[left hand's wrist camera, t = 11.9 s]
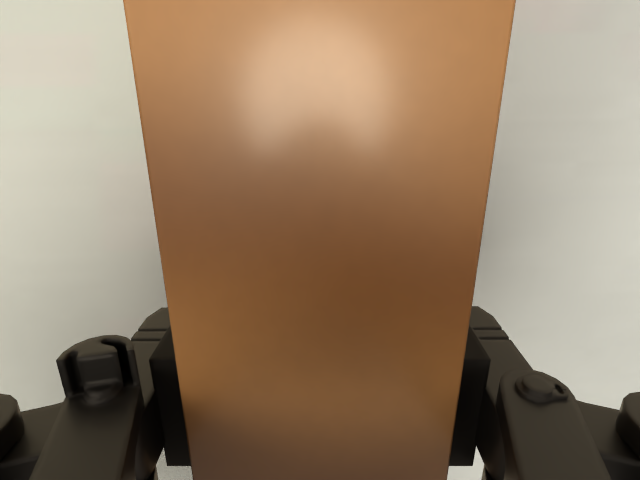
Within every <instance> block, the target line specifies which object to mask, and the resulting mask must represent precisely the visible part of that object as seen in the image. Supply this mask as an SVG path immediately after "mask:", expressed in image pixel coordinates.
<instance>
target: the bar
mask: <svg viewBox="0 0 640 480" xmlns="http://www.w3.org/2000/svg"><path fill="white" fill-rule="evenodd" d="M123 2H124V9H125V16H126V23H127V30H128V36H129V43H130V50H131V57H132V64H133V71H134V78H135V84H136V91H137V98H138V105H139V112H140V119H141V126H142V132H143V139H144V146H145V153H146V160H147V167H148V174H149V180H150V187H151V194H152V201H153V208H154V215H155V222H156V228H157V235H158V242H159V249H160V256H161V263H162V270H163V277H164V283H165V290H166V297H167V304H168V311H169V318H170V325H171V331H172V338H173V345H174V352H175V359H176V366H177V373H178V379H179V386H180V393H181V400H182V407H183V414H184V421H185V427H186V434H187V441H188V448H189V455H190V462H191V469H192V475H193V480H447V474H448V467H449V460H450V453H451V447H452V440H453V433H454V426H455V419H456V412H457V405H458V398H459V391H460V384H461V377H462V370H463V363H464V356H465V349H466V342H467V335H468V328H469V321H470V315H471V308H472V301H473V294H474V287H475V280H476V273H477V266H478V259H479V252H480V245H481V238H482V231H483V224H484V217H485V210H486V203H487V196H488V189H489V182H490V176H491V169H492V162H493V155H494V148H495V141H496V134H497V127H498V120H499V113H500V106H501V99H502V92H503V85H504V78H505V71H506V64H507V57H508V50H509V44H510V37H511V30H512V23H513V16H514V9H515V2H516V0H123Z"/></svg>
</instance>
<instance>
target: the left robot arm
mask: <svg viewBox="0 0 640 480" xmlns="http://www.w3.org/2000/svg"><path fill="white" fill-rule="evenodd" d="M56 362H57V366H58V370H59V373H60V377H61V381H62V385H63V388H64V392H65V396H66V398H65V400H64V402H62V403H58V404H55V405H51V406H46V407H41V408H37V409H32V410H27V411H23V412H20V409H19V406H18V402H17V400H16V399H14V398H13V397H12V396H11V395H5V394H0V480H158V475H157V469H156V464H157V461H158V459H159V457H160V454H161V452H162V450H163V447H164V451H165V456H166V462H167V466H191V462H190V455H189V448H188V441H187V434H186V427H185V421H184V414H183V407H182V400H181V393H180V386H179V379H178V373H177V366H176V359H175V352H174V345H173V338H172V331H171V325H170V318H169V311H168V308H161V309H159V310H158V311H156V312H155V313H153V314H152V315H150V316H149V317H147V318H146V320H145V321H144V322H143V324H142V325H141V326H140V328H139V329H138V331H137V332H136V333H135V334H134V336H133V337H132V338H131V340H129V339H128V338H127V337H123V336H118V335H105V336H99V337H95V338H90V339H87V340H85V341H82V342H80V343H77V344H75V345H73V346H72V347H70V348H69V349H67V350H66V351H64V352H63V353H62V354H61V355H60V357H59V358H58V359H57V360H56ZM476 446H477V448H478V451H479V453H480V455H481V457H482V460H483V462H484V469H483V474H482V480H640V392H636V393H630V394H628V395H627V396H626V397H625V398H623V401H622V404H621V407H620V410H616V409H612V408H607V407H602V406H598V405H593V404H588V403H584V402H581V401H577V400H576V399H575V397H574V395H573V394H572V393H571V391H570V390H569V388H568V387H567V386H565V385H564V384H563V383H561V382H560V381H559V380H557V379H556V378H554V377H551V376H549V375H547V374H545V373H543V372H539V371H535V370H533V369H532V368H531V366H530V365H529V364H528V362H527V361H526V360H525V358H524V357H523V356H522V354H521V353H520V352H519V350H518V349H517V348H516V346H515V345H514V344H513V342H512V341H511V340H509V337H508V336H507V334H506V333H505V332H504V330H502V329H501V326H500V325H499V324H498V322H497V321H496V320H495V318H494V317H493V316H492V315H490V314H489V313H487V312H486V311H484V310H483V309H481V308H480V307H478V306H472V308H471V315H470V321H469V328H468V335H467V342H466V349H465V356H464V363H463V370H462V377H461V384H460V391H459V398H458V405H457V412H456V419H455V426H454V433H453V440H452V447H451V453H450V460H449V466H473V460H474V455H475V449H476Z"/></svg>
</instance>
